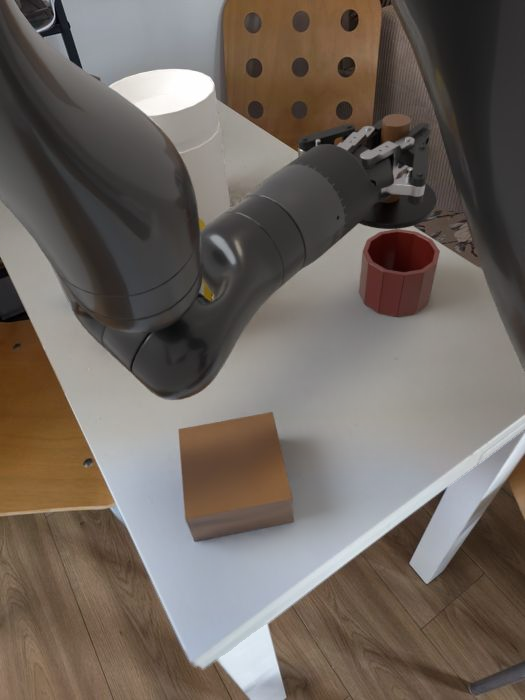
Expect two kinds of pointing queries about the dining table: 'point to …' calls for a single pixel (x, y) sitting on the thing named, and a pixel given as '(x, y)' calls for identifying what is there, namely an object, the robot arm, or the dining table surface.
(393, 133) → the lid
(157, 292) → the robot arm
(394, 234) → the pot
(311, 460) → the dining table surface
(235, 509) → the brown wooden block
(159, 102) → the canister
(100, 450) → the dining table surface
